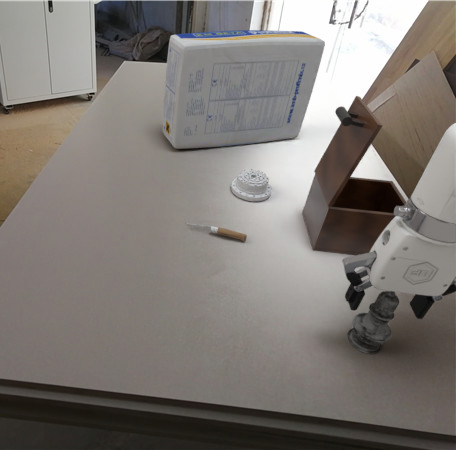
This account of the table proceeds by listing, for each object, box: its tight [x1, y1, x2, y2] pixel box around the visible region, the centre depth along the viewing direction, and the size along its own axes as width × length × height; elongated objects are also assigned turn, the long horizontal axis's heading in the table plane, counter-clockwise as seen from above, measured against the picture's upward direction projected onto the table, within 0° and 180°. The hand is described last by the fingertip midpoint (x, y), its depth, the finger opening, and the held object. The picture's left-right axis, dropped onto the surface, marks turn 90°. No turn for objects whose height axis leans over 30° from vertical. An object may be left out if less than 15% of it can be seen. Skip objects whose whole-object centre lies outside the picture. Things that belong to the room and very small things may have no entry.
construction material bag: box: [162, 29, 326, 150], centre depth 117 cm, size 43×12×30 cm, turn 108°
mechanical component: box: [230, 168, 273, 202], centre depth 101 cm, size 10×4×10 cm
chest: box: [301, 173, 407, 256], centre depth 86 cm, size 17×14×11 cm
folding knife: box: [184, 222, 248, 243], centre depth 87 cm, size 14×2×2 cm, turn 71°
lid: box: [313, 95, 384, 207], centre depth 78 cm, size 17×14×5 cm
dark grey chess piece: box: [347, 290, 400, 355], centre depth 64 cm, size 6×6×12 cm
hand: (382, 307), depth 62 cm, fingers open, 9 cm apart
